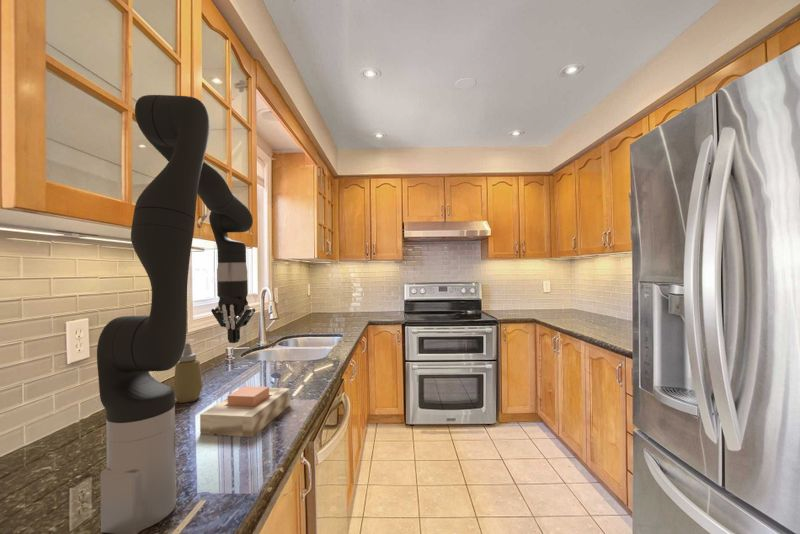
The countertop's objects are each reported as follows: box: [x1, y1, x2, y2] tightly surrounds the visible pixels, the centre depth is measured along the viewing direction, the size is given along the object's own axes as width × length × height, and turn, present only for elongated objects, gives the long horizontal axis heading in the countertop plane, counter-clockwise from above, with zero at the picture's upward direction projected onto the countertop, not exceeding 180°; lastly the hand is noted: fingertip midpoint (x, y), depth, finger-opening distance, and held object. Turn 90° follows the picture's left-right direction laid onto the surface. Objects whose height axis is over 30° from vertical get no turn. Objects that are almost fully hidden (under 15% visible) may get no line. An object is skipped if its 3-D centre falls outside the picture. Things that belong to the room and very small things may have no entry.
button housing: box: [199, 387, 291, 438], centre depth 95 cm, size 20×14×5 cm
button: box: [227, 385, 270, 407], centre depth 95 cm, size 8×8×4 cm
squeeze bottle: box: [172, 342, 204, 404], centre depth 110 cm, size 8×8×18 cm
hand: (233, 342), depth 94 cm, fingers closed
